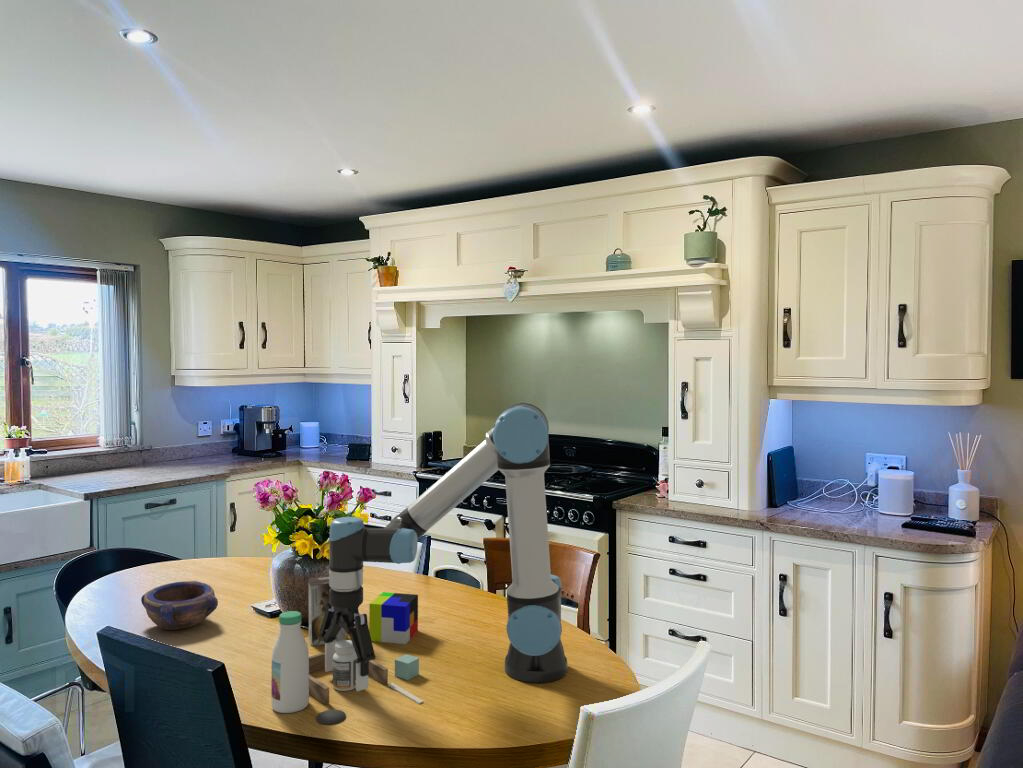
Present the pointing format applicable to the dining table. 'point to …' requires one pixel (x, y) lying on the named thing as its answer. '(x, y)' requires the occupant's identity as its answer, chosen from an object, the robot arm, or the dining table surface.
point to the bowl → (179, 604)
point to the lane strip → (405, 693)
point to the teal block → (406, 667)
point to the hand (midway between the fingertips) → (346, 679)
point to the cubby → (322, 690)
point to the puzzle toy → (393, 617)
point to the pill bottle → (344, 666)
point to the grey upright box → (319, 609)
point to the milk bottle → (290, 666)
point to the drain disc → (330, 717)
